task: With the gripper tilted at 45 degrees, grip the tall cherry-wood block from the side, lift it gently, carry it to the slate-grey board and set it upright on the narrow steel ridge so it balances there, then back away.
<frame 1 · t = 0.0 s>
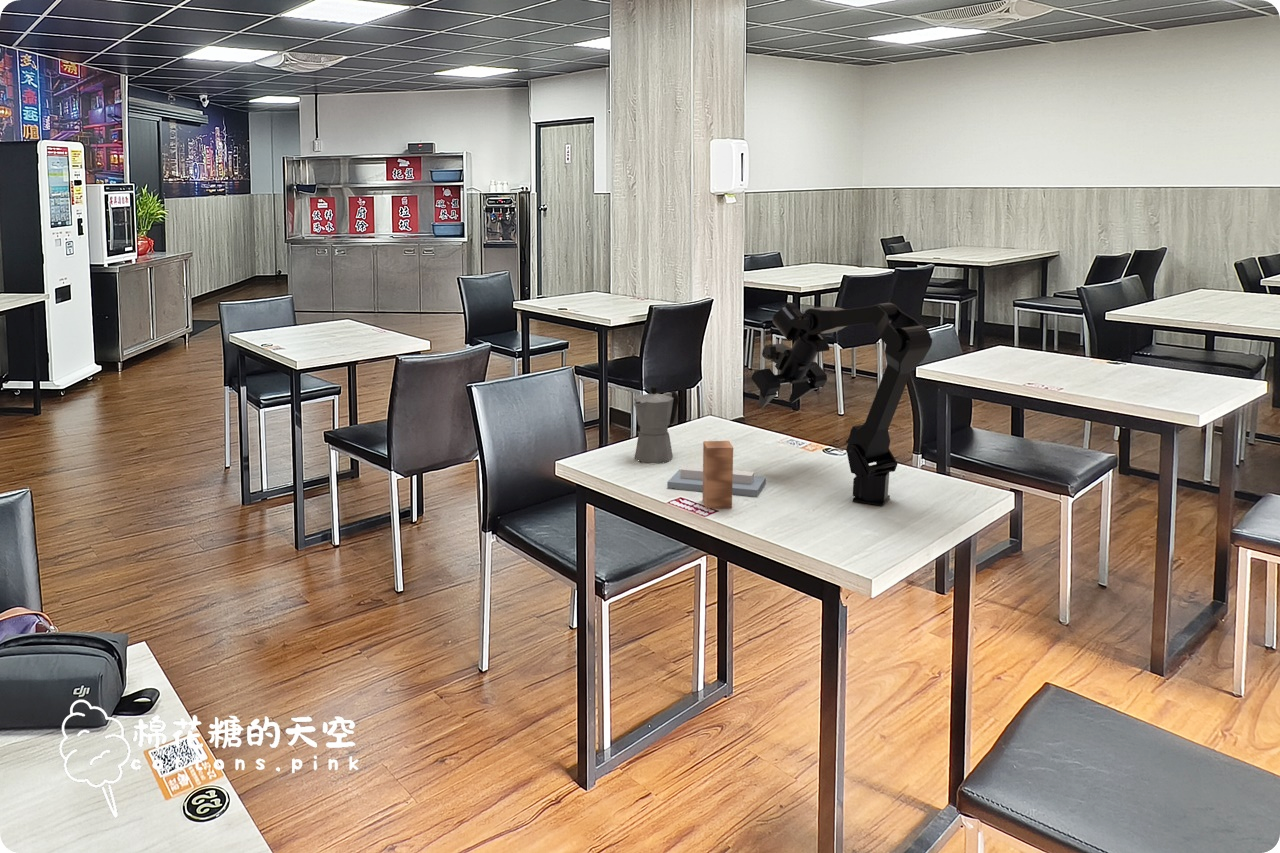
hand: (775, 404, 235), 15 cm above the table, tool tilted 35°, fingers open, 9 cm apart
cherry block: (717, 504, 211), on the table
ridge board: (716, 485, 223), on the table
coffeepot: (656, 458, 245), on the table
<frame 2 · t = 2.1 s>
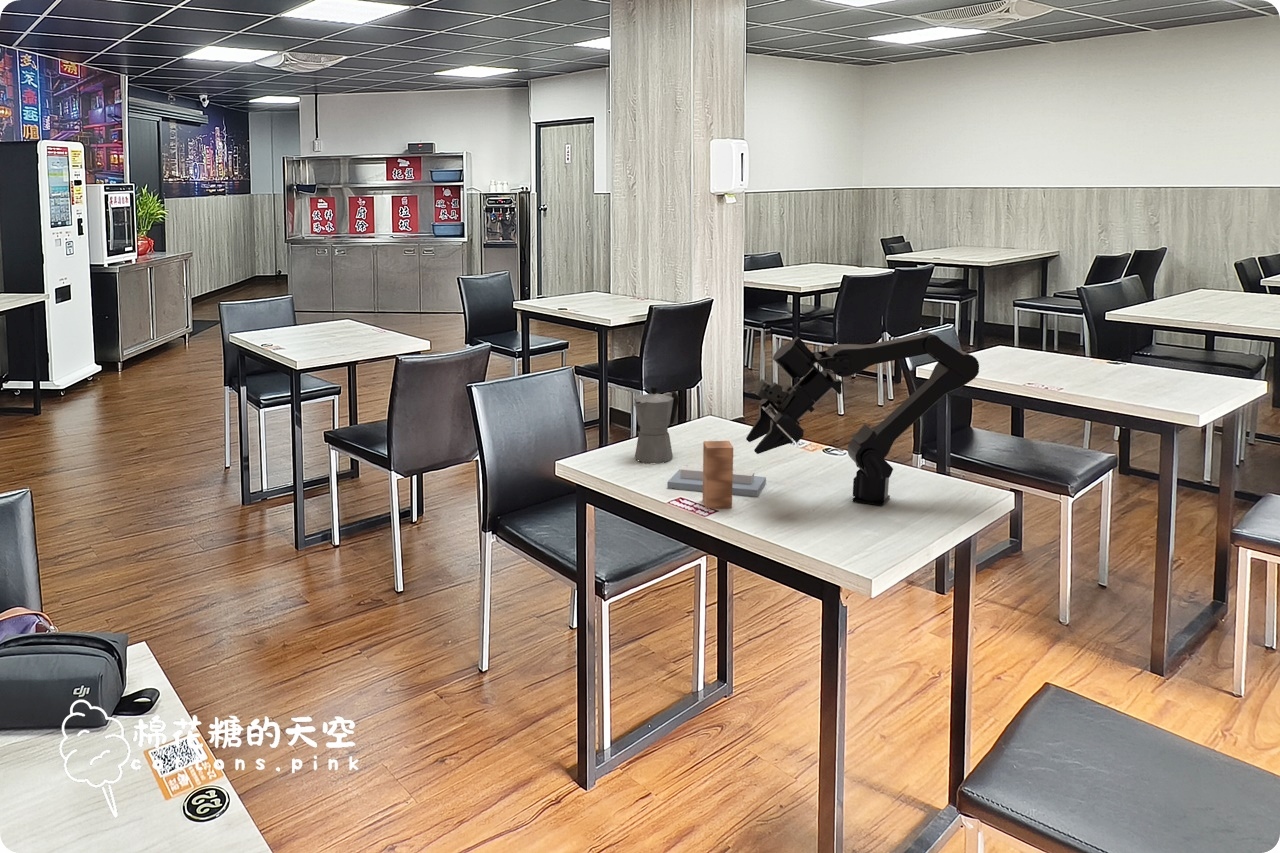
hand: (751, 446, 209), 12 cm above the table, tool tilted 45°, fingers open, 9 cm apart
nothing on the table moved.
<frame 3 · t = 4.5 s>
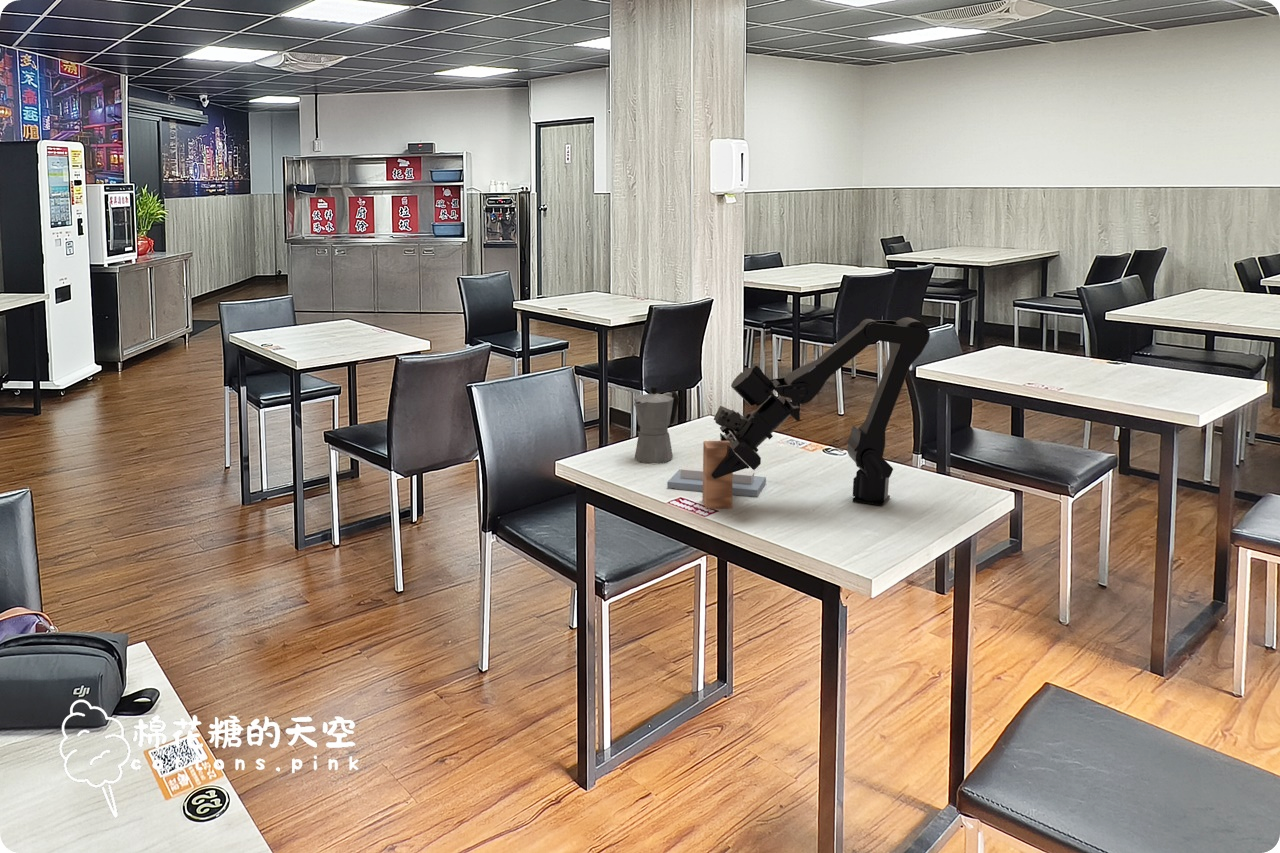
hand: (710, 472, 210), 7 cm above the table, tool tilted 45°, fingers closed on cherry block, 6 cm apart
cherry block: (716, 503, 211), on the table, touching gripper
everything else where it was.
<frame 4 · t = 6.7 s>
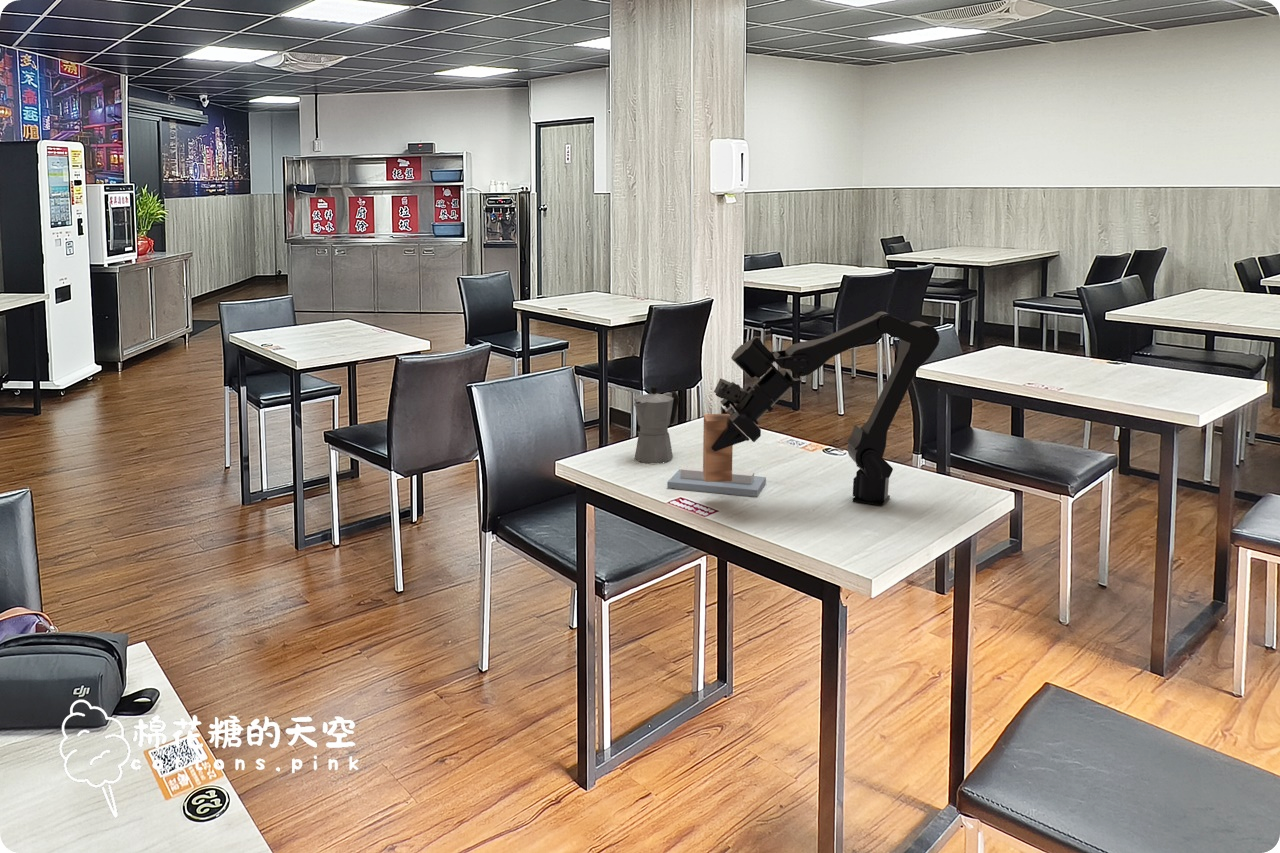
hand: (711, 446, 209), 13 cm above the table, tool tilted 45°, fingers closed on cherry block, 5 cm apart
cherry block: (717, 477, 211), point 6 cm above the table, touching gripper
everything else where it was.
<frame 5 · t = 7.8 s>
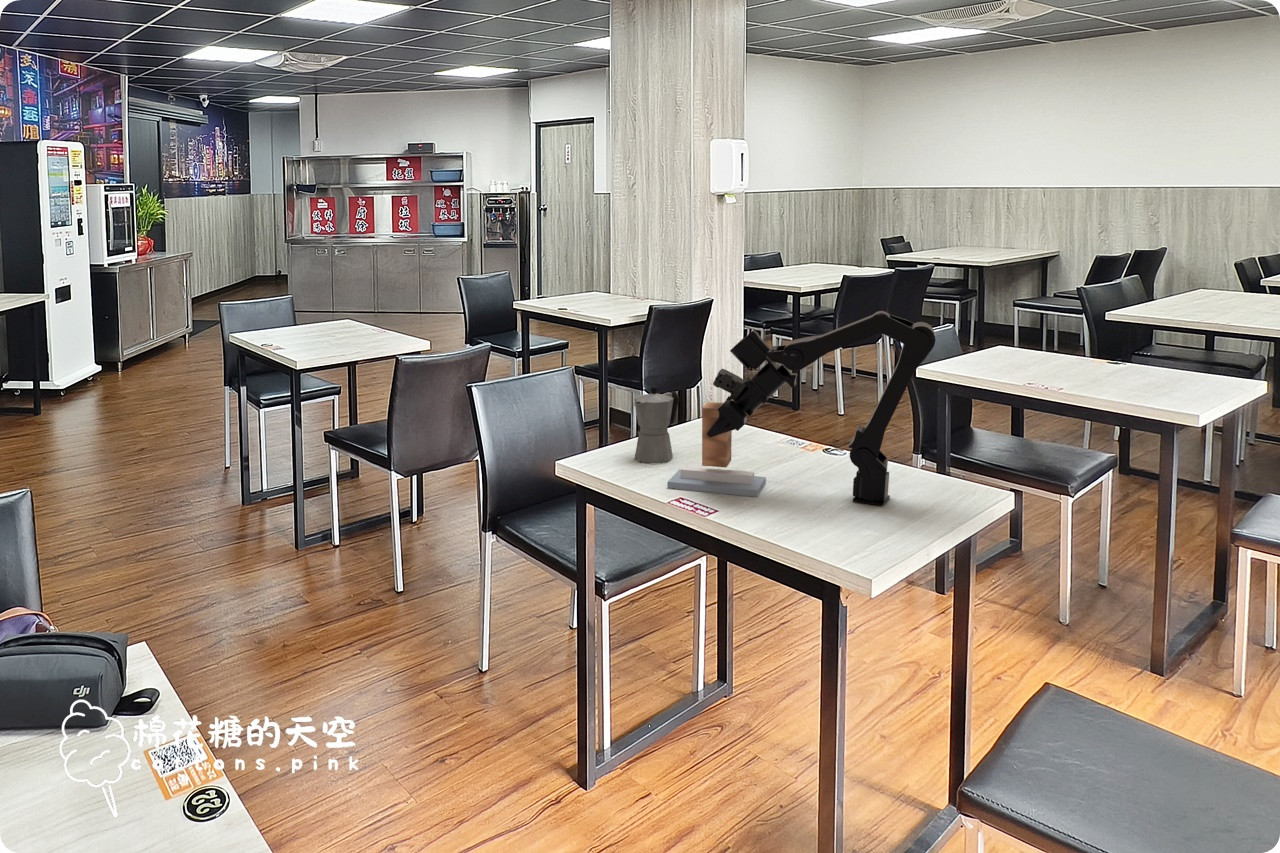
hand: (710, 432, 219), 13 cm above the table, tool tilted 45°, fingers closed on cherry block, 5 cm apart
cherry block: (716, 463, 221), point 6 cm above the table, touching gripper
everything else where it was.
when the fingers open (11 cm above the table, at t = 8.9 s): cherry block stays where it is, resting on ridge board.
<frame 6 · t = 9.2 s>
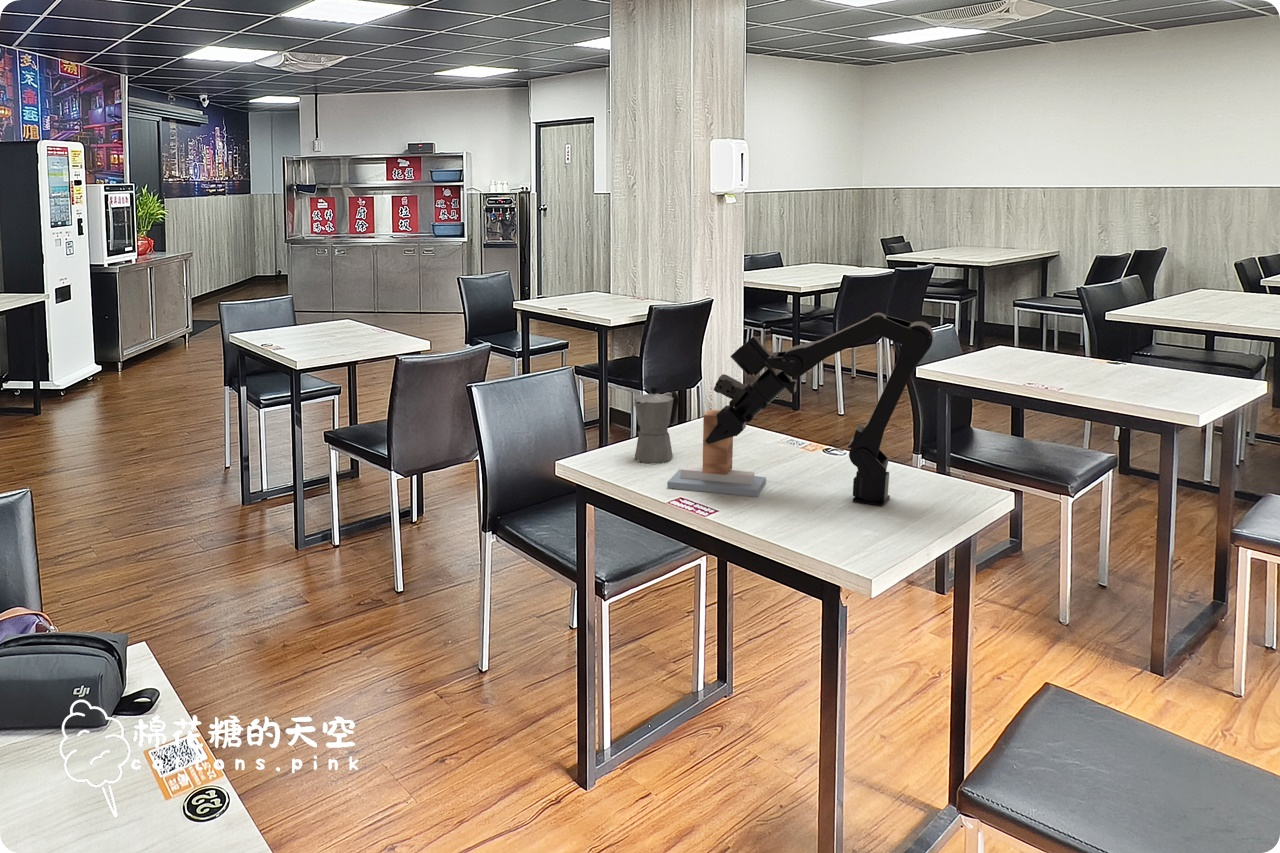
hand: (711, 437, 221), 11 cm above the table, tool tilted 45°, fingers open, 9 cm apart
cherry block: (717, 470, 223), point 4 cm above the table, touching ridge board
everything else where it was.
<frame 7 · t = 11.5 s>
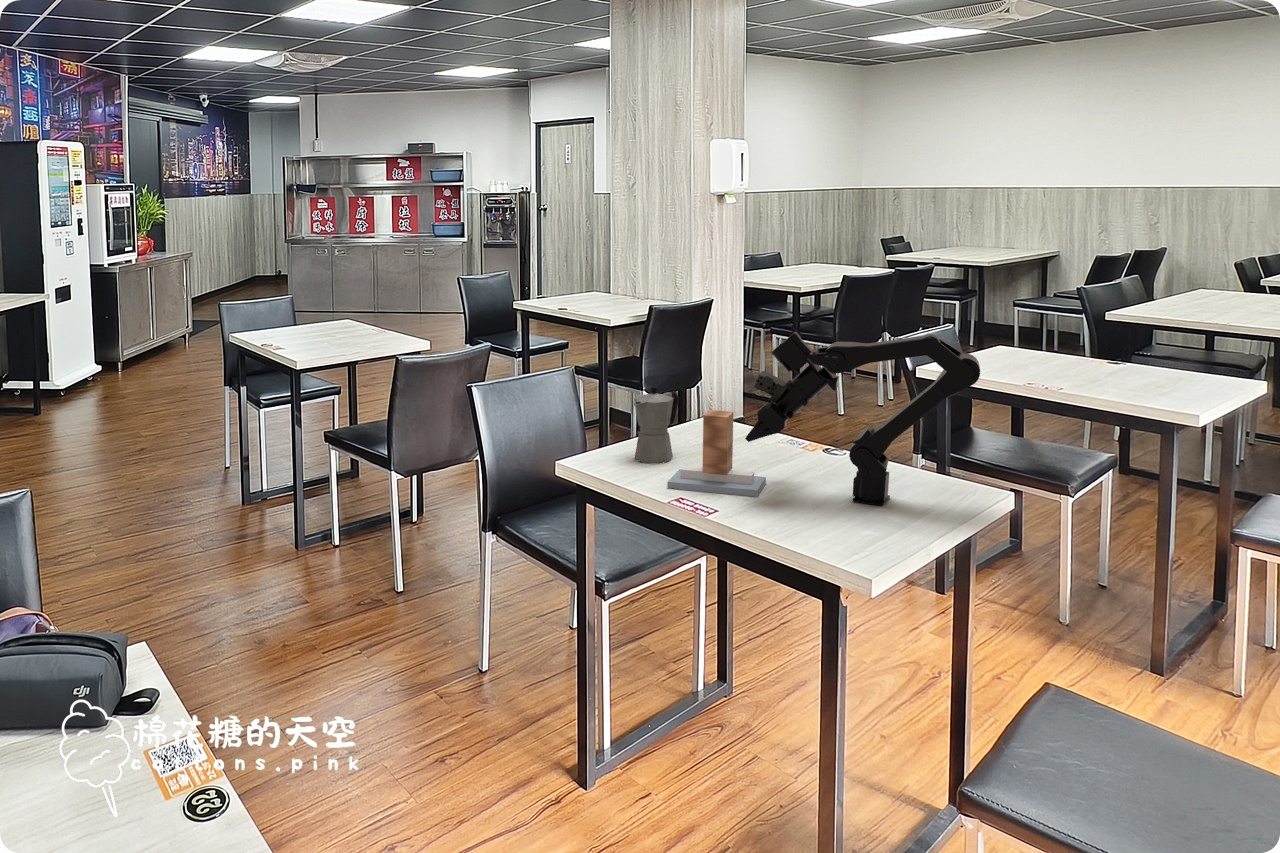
hand: (751, 434, 218), 12 cm above the table, tool tilted 45°, fingers open, 9 cm apart
nothing on the table moved.
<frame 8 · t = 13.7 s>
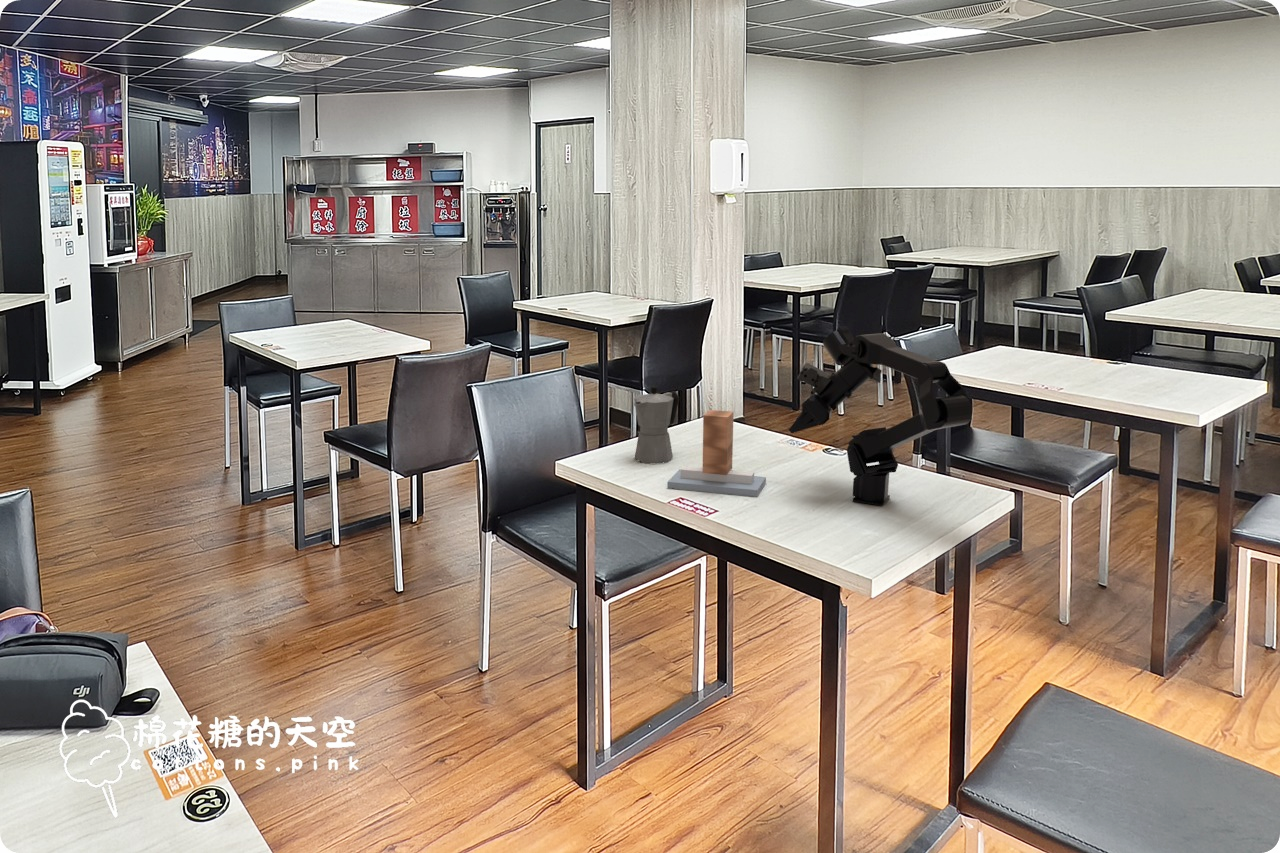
hand: (793, 426, 220), 14 cm above the table, tool tilted 45°, fingers open, 9 cm apart
nothing on the table moved.
at the end: cherry block 0.1 cm off-centre on the ridge board, point 3.5 cm above the ridge board's base; cherry block tilted 0°; the gripper is holding nothing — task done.
